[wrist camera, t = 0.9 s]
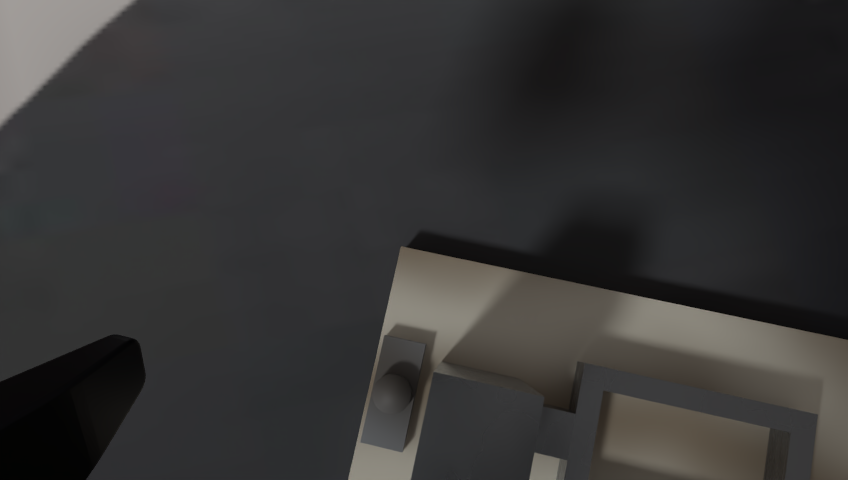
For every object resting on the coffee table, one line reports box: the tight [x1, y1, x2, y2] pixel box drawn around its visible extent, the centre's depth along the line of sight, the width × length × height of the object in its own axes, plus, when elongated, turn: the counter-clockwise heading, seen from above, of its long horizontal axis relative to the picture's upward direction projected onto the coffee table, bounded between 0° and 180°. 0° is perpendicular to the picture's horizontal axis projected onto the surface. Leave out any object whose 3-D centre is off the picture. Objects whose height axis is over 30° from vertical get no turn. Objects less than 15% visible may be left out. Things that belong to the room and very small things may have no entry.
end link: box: [411, 361, 818, 480], centre depth 19 cm, size 5×13×7 cm, turn 78°
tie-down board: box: [348, 246, 848, 480], centre depth 22 cm, size 11×27×2 cm, turn 78°
